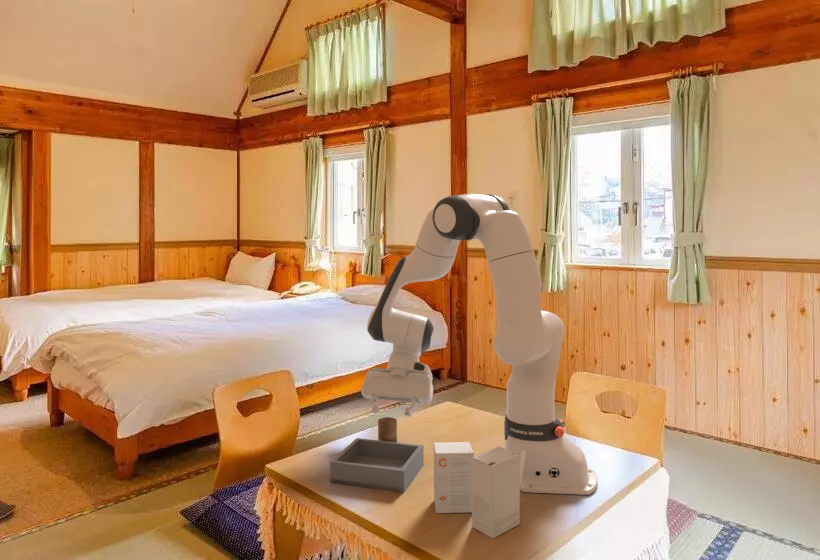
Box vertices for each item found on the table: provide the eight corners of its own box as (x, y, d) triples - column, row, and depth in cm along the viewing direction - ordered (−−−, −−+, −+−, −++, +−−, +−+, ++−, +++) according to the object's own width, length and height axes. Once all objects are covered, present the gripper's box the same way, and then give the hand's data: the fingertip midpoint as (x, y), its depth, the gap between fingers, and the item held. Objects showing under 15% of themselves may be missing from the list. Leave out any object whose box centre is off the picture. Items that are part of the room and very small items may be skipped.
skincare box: (498, 514, 119) (499, 444, 118) (521, 526, 115) (522, 453, 113) (470, 528, 114) (470, 455, 113) (492, 540, 109) (493, 464, 108)
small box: (470, 499, 126) (470, 441, 125) (474, 513, 120) (474, 452, 119) (433, 499, 126) (433, 441, 125) (435, 513, 120) (434, 453, 119)
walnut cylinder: (399, 447, 156) (399, 418, 156) (393, 453, 152) (393, 424, 151) (382, 445, 158) (381, 416, 157) (375, 451, 153) (375, 422, 152)
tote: (423, 464, 145) (423, 445, 144) (404, 492, 129) (403, 471, 129) (356, 456, 150) (356, 438, 149) (330, 482, 135) (330, 461, 134)
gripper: (365, 361, 166) (352, 405, 158) (434, 366, 160) (424, 411, 152) (371, 373, 171) (358, 415, 162) (438, 378, 165) (428, 422, 156)
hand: (391, 413), depth 157 cm, fingers open, 8 cm apart
